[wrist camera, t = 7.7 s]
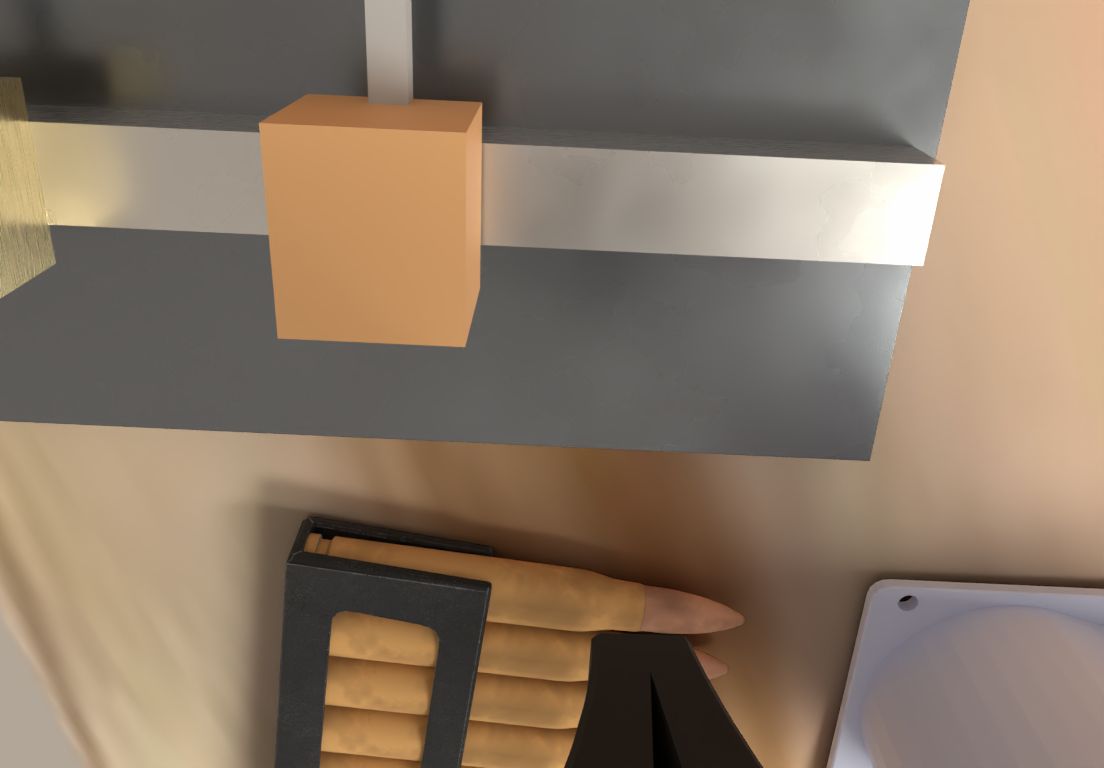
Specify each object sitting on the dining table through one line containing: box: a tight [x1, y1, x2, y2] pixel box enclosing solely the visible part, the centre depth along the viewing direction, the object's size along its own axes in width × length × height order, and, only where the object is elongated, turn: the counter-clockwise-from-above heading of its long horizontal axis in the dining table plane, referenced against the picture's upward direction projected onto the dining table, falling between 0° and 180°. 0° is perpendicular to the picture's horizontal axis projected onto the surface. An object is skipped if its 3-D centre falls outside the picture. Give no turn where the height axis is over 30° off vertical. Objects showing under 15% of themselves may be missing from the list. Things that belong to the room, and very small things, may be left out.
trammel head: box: [259, 0, 482, 347], centre depth 16 cm, size 3×7×4 cm, turn 177°
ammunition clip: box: [275, 516, 744, 768], centre depth 27 cm, size 11×2×12 cm
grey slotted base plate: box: [0, 0, 970, 461], centre depth 18 cm, size 22×13×6 cm, turn 87°
